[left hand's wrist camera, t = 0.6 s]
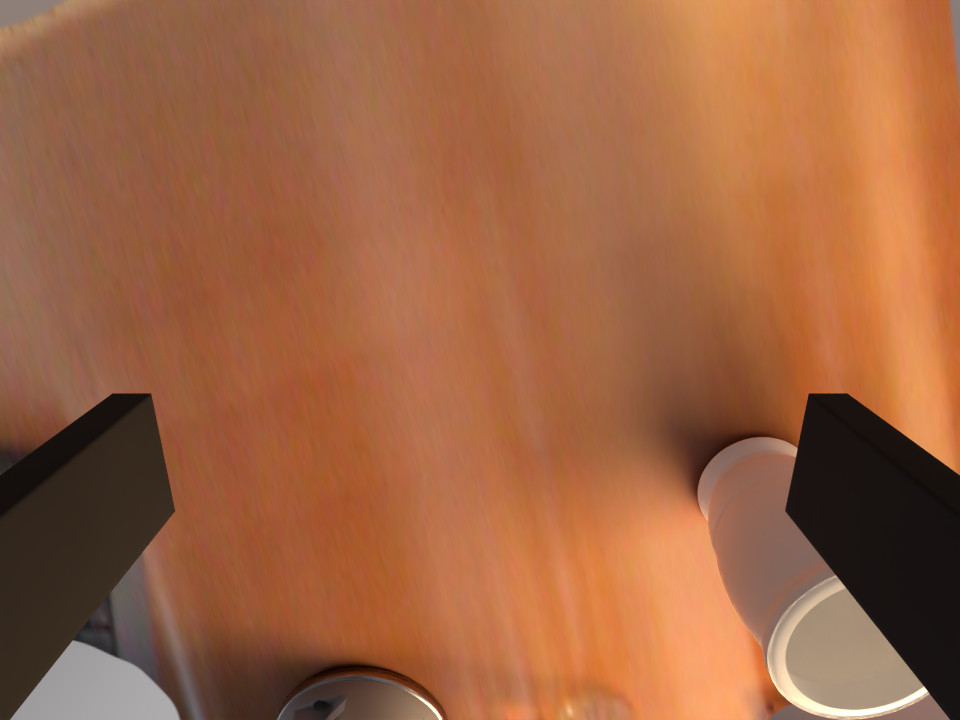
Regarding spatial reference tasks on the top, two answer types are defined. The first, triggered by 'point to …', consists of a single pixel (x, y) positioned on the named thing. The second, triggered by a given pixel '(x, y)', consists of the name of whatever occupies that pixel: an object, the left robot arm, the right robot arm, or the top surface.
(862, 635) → the jar
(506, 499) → the top surface
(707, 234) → the top surface
